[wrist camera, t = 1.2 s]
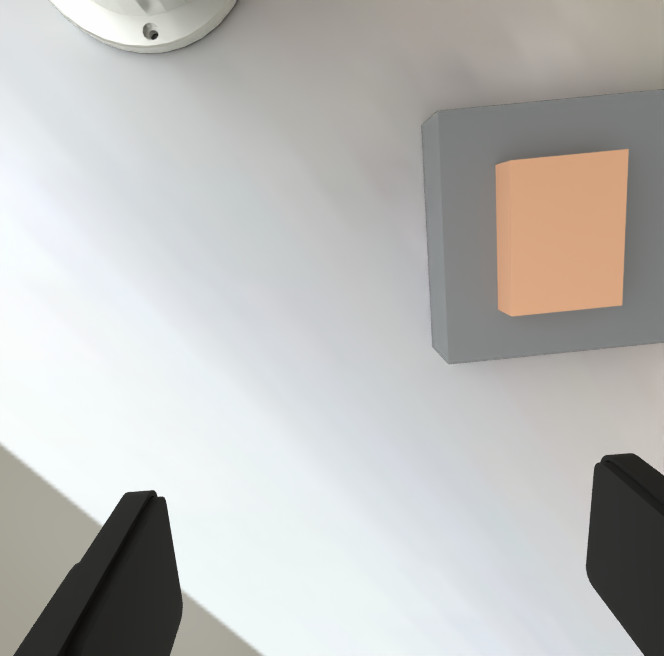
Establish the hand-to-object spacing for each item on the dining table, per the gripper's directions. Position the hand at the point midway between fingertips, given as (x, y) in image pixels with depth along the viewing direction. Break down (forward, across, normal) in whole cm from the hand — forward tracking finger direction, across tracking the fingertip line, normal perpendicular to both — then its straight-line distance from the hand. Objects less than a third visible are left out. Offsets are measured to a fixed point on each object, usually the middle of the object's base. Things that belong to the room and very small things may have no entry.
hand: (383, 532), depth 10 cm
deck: (+22, -14, -5) cm, 26 cm away
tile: (+18, -12, -5) cm, 22 cm away
